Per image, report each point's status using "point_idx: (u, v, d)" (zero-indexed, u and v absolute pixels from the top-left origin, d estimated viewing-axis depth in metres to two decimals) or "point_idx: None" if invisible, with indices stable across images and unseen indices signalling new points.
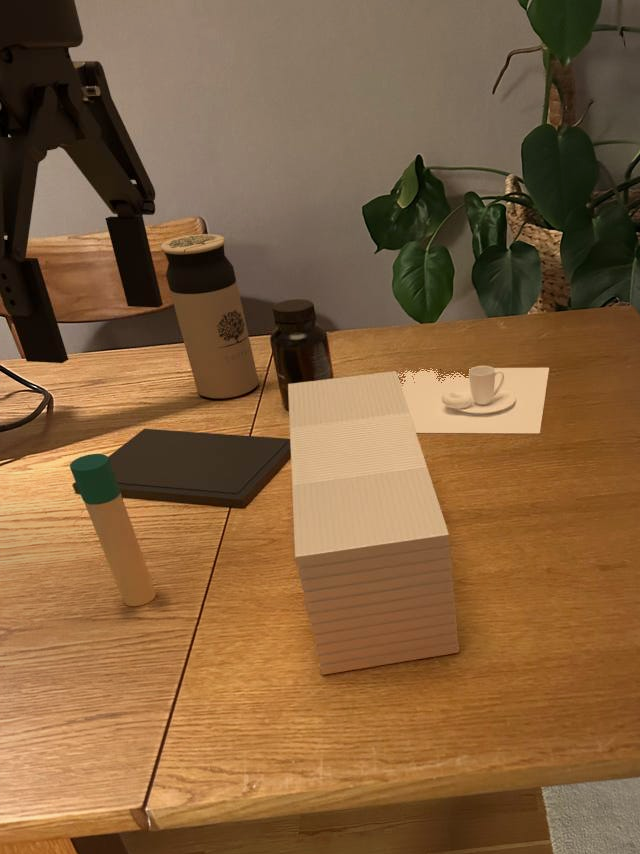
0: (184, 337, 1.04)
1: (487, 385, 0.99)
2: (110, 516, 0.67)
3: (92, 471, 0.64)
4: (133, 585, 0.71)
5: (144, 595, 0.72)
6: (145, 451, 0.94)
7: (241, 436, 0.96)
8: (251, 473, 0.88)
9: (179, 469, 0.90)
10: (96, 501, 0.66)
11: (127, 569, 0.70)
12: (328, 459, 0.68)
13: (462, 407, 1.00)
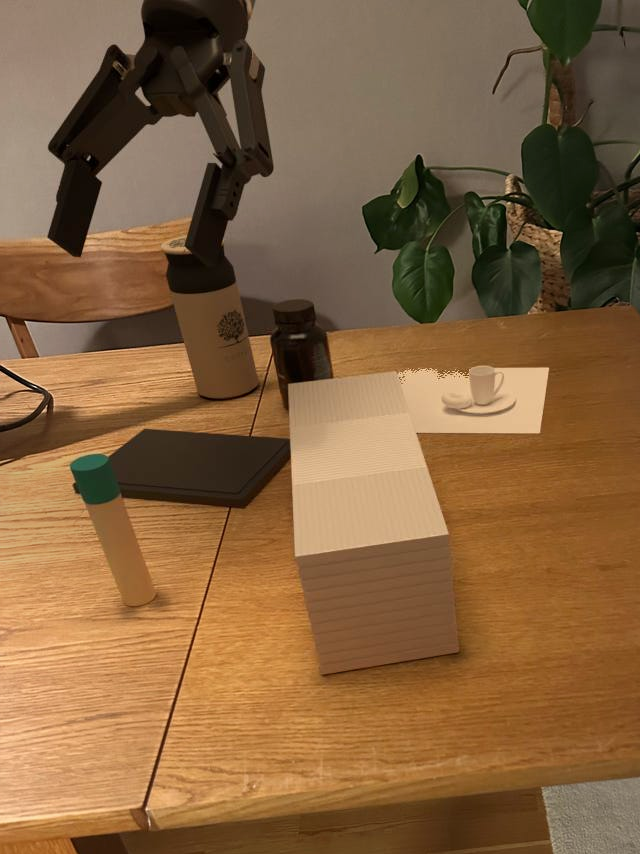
0: (184, 337, 1.04)
1: (487, 385, 0.99)
2: (110, 516, 0.67)
3: (92, 471, 0.64)
4: (133, 585, 0.71)
5: (144, 595, 0.72)
6: (145, 451, 0.94)
7: (241, 436, 0.96)
8: (251, 473, 0.88)
9: (179, 469, 0.90)
10: (96, 501, 0.66)
11: (127, 569, 0.70)
12: (328, 459, 0.68)
13: (462, 407, 1.00)
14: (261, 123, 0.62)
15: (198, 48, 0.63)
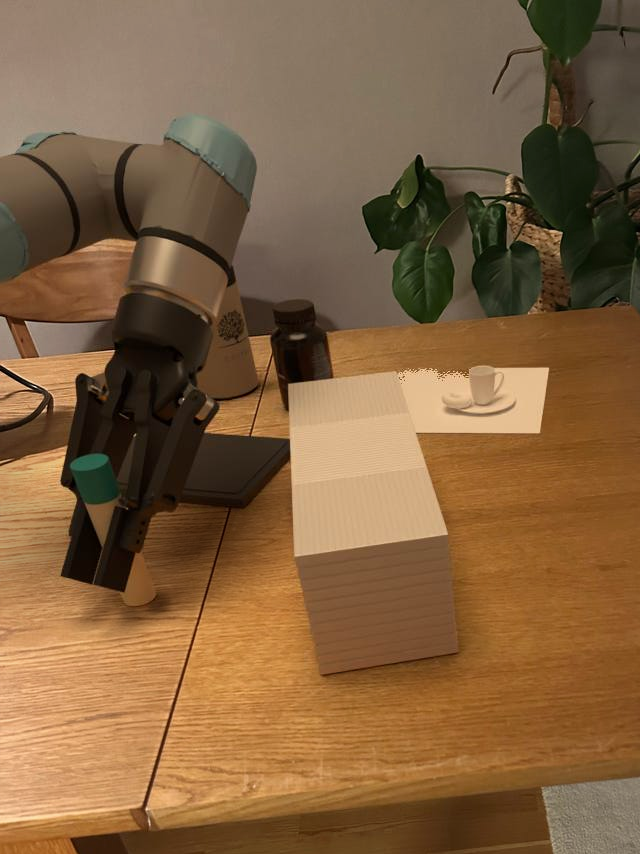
0: None
1: (487, 385, 0.99)
2: (110, 516, 0.67)
3: (92, 471, 0.64)
4: (133, 585, 0.71)
5: (144, 595, 0.72)
6: None
7: (241, 436, 0.96)
8: (251, 473, 0.88)
9: None
10: (96, 501, 0.66)
11: None
12: (328, 459, 0.68)
13: (462, 407, 1.00)
14: (183, 467, 0.67)
15: (165, 370, 0.67)
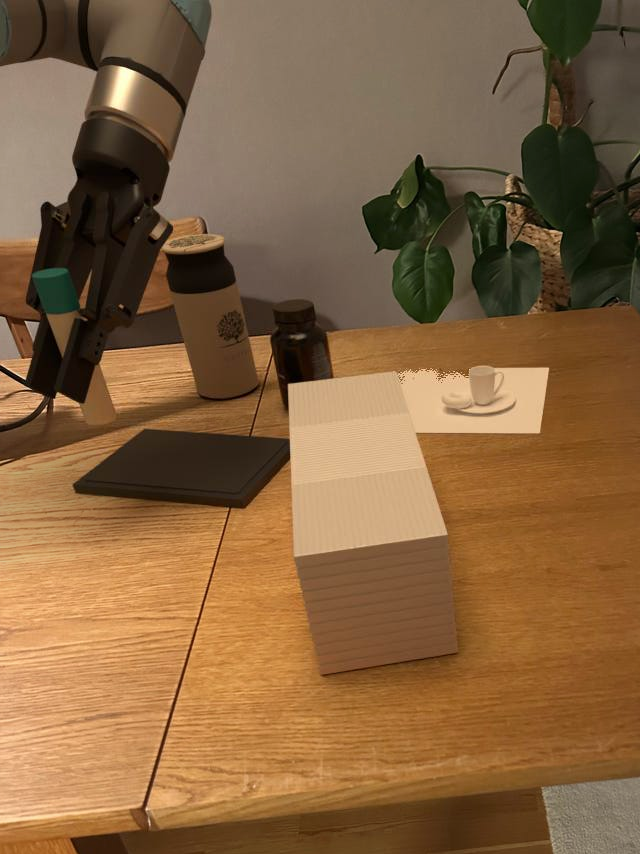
0: (184, 337, 1.04)
1: (487, 385, 0.99)
2: (71, 327, 0.72)
3: (52, 279, 0.69)
4: (94, 402, 0.76)
5: (104, 414, 0.77)
6: (145, 451, 0.94)
7: (241, 436, 0.96)
8: (251, 473, 0.88)
9: (179, 469, 0.90)
10: (56, 311, 0.71)
11: None
12: (328, 459, 0.68)
13: (462, 407, 1.00)
14: (139, 283, 0.72)
15: (122, 192, 0.72)
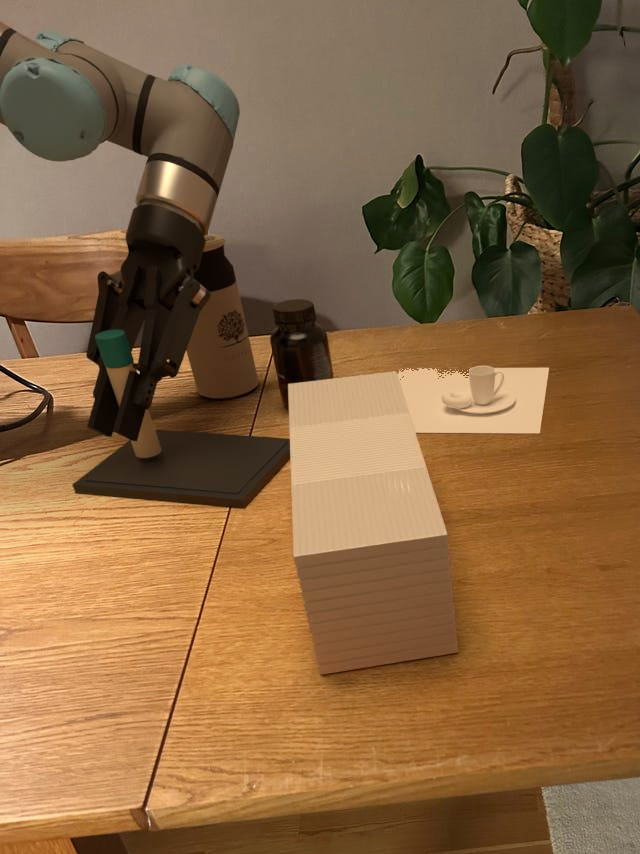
0: None
1: (487, 385, 0.99)
2: (126, 378, 0.86)
3: (112, 340, 0.83)
4: (143, 439, 0.90)
5: (152, 448, 0.91)
6: None
7: (241, 436, 0.96)
8: (251, 473, 0.88)
9: (179, 469, 0.90)
10: (115, 365, 0.85)
11: None
12: (328, 459, 0.68)
13: (462, 407, 0.99)
14: (182, 341, 0.86)
15: (168, 265, 0.86)
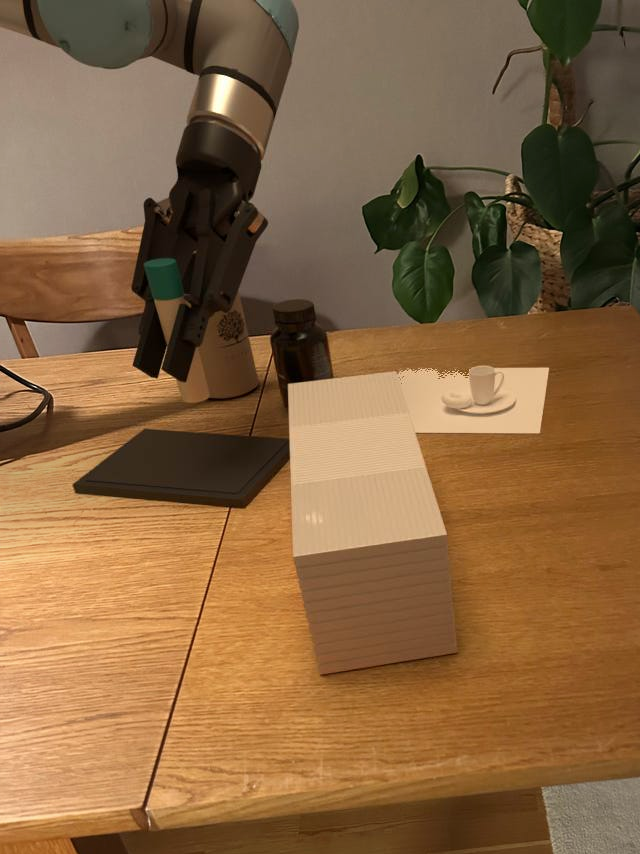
0: None
1: (487, 385, 0.99)
2: (176, 312, 0.79)
3: (163, 268, 0.76)
4: (192, 382, 0.83)
5: (201, 392, 0.84)
6: (145, 451, 0.94)
7: (241, 436, 0.96)
8: (251, 473, 0.88)
9: (179, 469, 0.90)
10: (165, 297, 0.78)
11: None
12: (327, 459, 0.68)
13: (462, 407, 1.00)
14: (238, 272, 0.79)
15: (222, 189, 0.79)
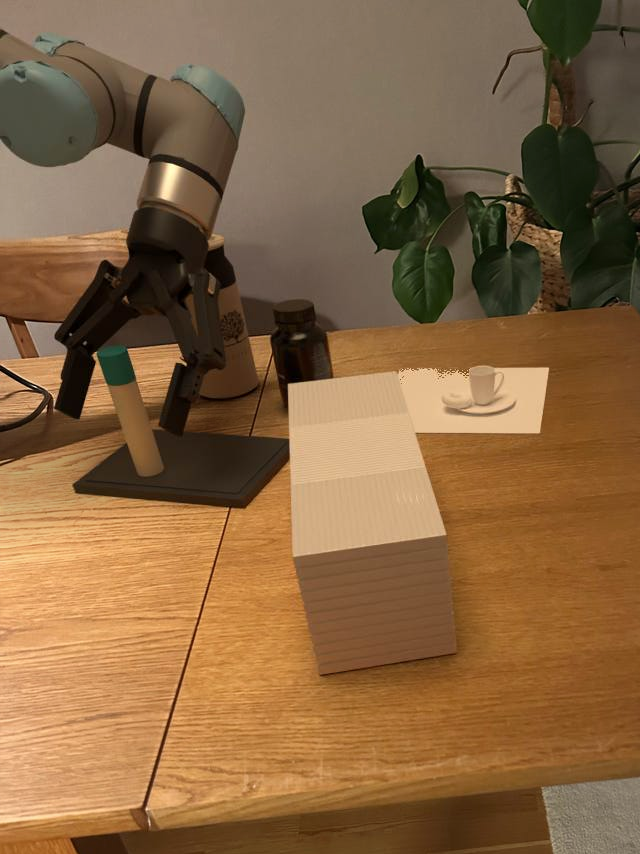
0: None
1: (487, 385, 0.99)
2: (128, 396, 0.84)
3: (114, 357, 0.81)
4: (145, 458, 0.88)
5: (154, 467, 0.89)
6: None
7: (241, 436, 0.96)
8: (251, 473, 0.88)
9: (179, 469, 0.90)
10: (117, 383, 0.82)
11: (141, 443, 0.87)
12: (327, 459, 0.68)
13: (462, 407, 1.00)
14: (217, 330, 0.83)
15: (170, 270, 0.84)
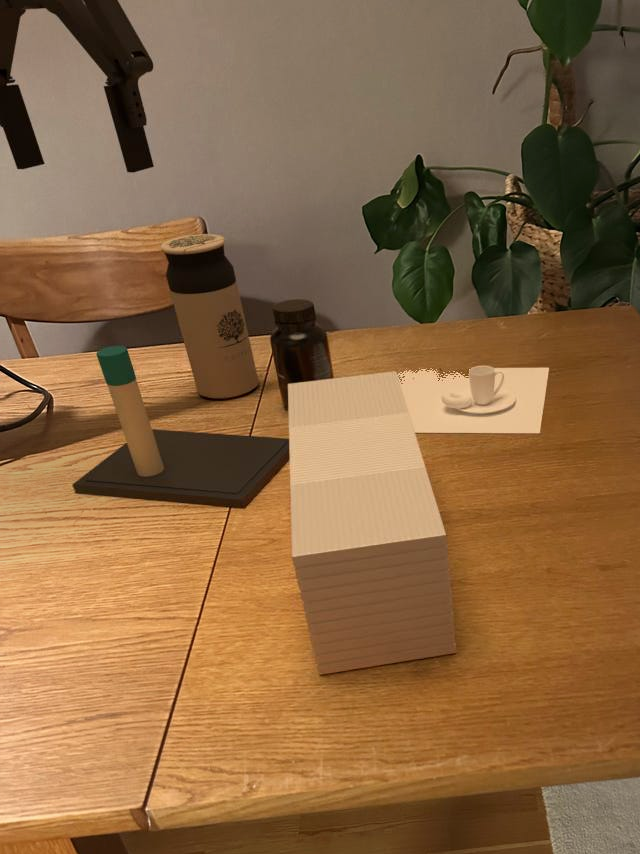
0: (184, 337, 1.04)
1: (487, 385, 0.99)
2: (128, 396, 0.84)
3: (114, 357, 0.81)
4: (145, 458, 0.88)
5: (154, 467, 0.89)
6: None
7: (241, 436, 0.96)
8: (251, 473, 0.88)
9: (179, 469, 0.90)
10: (117, 383, 0.82)
11: (141, 443, 0.87)
12: (327, 459, 0.68)
13: (462, 407, 0.99)
14: (121, 19, 0.69)
15: None
